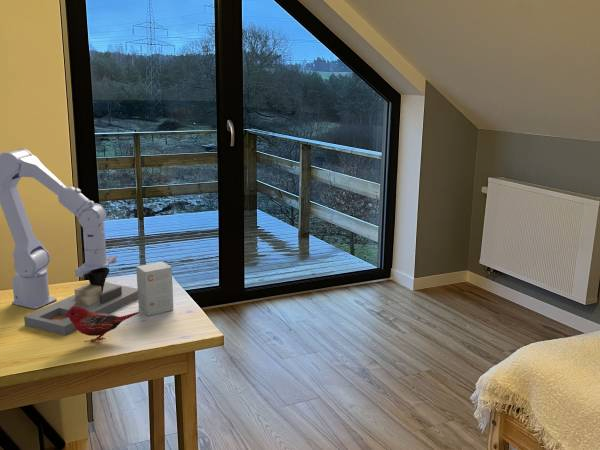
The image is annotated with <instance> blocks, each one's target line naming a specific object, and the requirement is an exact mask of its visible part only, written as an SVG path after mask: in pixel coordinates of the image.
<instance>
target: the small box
mask: <svg viewBox="0 0 600 450" xmlns="http://www.w3.org/2000/svg"><path fill="white" fill-rule="evenodd" d="M135 268H136V282H137V283H136V284H137V289H138V299H137V300H138V310H139V311H140V312H142V313H143V314H144V315H145V316H146V317H150V316H155V315H158V314H162V313H166V312H170V311H174V293H173V292H174V291H173V290H174V289H173V288H174V287H173V269H172V268H173V267H172V266H171V265H169V264H168V263H166V262H164V261H157V262H154V263H153V262H152V263H146V264H142V265H136V267H135Z"/></svg>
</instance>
